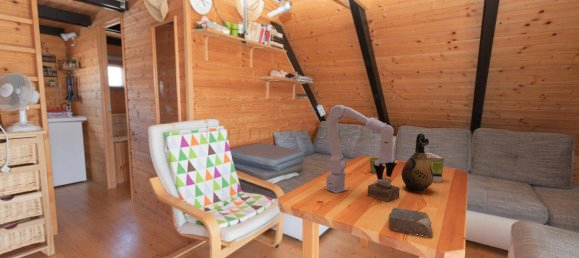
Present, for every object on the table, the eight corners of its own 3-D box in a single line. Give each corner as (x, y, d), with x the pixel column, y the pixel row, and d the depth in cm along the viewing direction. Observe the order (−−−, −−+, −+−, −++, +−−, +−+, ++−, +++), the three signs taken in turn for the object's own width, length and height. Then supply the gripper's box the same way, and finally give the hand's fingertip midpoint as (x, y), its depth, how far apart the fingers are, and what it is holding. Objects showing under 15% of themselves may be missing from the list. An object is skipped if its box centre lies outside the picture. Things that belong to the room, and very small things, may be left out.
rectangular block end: (387, 194, 132) (388, 180, 131) (376, 191, 137) (377, 177, 136) (390, 193, 134) (391, 179, 133) (379, 190, 138) (380, 176, 137)
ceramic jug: (436, 196, 137) (441, 136, 133) (403, 193, 140) (408, 135, 136) (426, 185, 154) (431, 132, 150) (397, 183, 157) (401, 131, 153)
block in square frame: (387, 202, 128) (387, 191, 127) (367, 195, 137) (368, 185, 136) (398, 197, 134) (399, 187, 134) (379, 191, 143) (380, 181, 142)
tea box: (442, 182, 159) (444, 157, 157) (424, 182, 159) (426, 157, 158) (429, 175, 174) (431, 152, 172) (413, 174, 174) (415, 151, 173)
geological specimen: (389, 206, 111) (431, 211, 105) (389, 221, 112) (431, 227, 106) (387, 216, 101) (433, 222, 95) (387, 232, 102) (433, 239, 96)
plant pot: (380, 175, 172) (381, 161, 170) (366, 172, 177) (366, 159, 176) (385, 172, 179) (386, 159, 178) (371, 169, 185) (372, 156, 184)
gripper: (384, 153, 125) (382, 182, 127) (401, 150, 134) (399, 177, 136) (371, 151, 131) (369, 178, 132) (388, 147, 139) (387, 173, 141)
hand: (384, 177), depth 134 cm, fingers open, 7 cm apart
